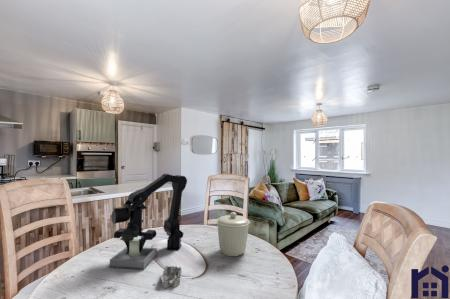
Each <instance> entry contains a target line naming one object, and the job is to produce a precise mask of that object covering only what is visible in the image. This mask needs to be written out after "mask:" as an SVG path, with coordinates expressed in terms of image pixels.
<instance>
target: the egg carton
mask: <svg viewBox="0 0 450 299" xmlns="http://www.w3.org/2000/svg"><path fill="white" fill-rule="evenodd" d="M168 274H169V279H170V280H167V278H168ZM176 274H177V275H176ZM181 275H182V267H181V266H179V267H178V266H177V265H176V266H174V265H173V266H172V265H170V266H168V265H165V266H164V269H163V272H162V274H161V277H160V279H161V282H162V283H161V286H162V287H164V288H169V287H173V288H177V287H178V286H180V285H181V284H180V283H181V277H182V276H181Z"/></svg>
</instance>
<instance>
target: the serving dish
mask: <svg viewBox="0 0 450 299" xmlns="http://www.w3.org/2000/svg"><path fill="white" fill-rule="evenodd" d="M157 250H158V248H156V247H155V248H154V247H143V249H142V251H141V252H140V256H138V257H135V258H131V257H129V252H128V249H127V246H125V247H124V248H123V249H122V250H120V251H119V252H118V253H116V254H115V255H114V256H112V257H111V258H110V259H109V268H110V269H125V270H126V269H128V270H137V271H138V270H139V271H140V270H141V271H145V269H146V268H147V267H148V266H149V265H150V264H151V263H152V261H153V260H154V259H155V258H156V257H157V255H158V254H157V252H158V251H157Z"/></svg>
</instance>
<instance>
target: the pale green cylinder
mask: <svg viewBox="0 0 450 299" xmlns="http://www.w3.org/2000/svg"><path fill="white" fill-rule="evenodd" d="M140 239H141V238H134V239H133V240H132V241H130V242H129V257H131V258H135V257H138V256H140V253H139V246H140V242H139V240H140Z"/></svg>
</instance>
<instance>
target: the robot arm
mask: <svg viewBox="0 0 450 299" xmlns="http://www.w3.org/2000/svg"><path fill="white" fill-rule="evenodd" d="M167 183H171V186H172V191H173V192H172V198H171V205H170V209H169V216H168V218H167V219H165V220H164V221H163V231H164V232H165V233H166V236H168V237H167V240H166V241H167V244H166V245H167V246H166V247H167V248H166V250H167V251H168V250H169V251H179V250H180V249H181V247H182V245H183V244H182V239H183V237H184V234H185V233H184V232H183V231H182V230H181V228H180V225H181V224H180V220H179V216H180V215H179V214H180V209H181V201H182V196H183V191H184V190H185V188H186V186H187V184H188V178H187V177H186V176H185V175H179V174H176V175H172V174H170V173H163V174H161V176H159V177H157V179H155V180H153V181H152V182H151V183H149V184H147V185H146V186H145V187H143V188H141V189H137V190H135V191H133V192H131V193H129V195H128V197H127V198H128V199H127V200H126V201H125V202H124V204H123V205H122V207H114V208H113V209H112V210H113V211H112V212H111V216H110V219H111V222H112V224H115V225H116V224H120V223H124V222H125V223H126V222H127V225H126V228H119V229H117V230H115V232H114V233H113V239H119V240H120V241H123V242H124V244H125V247H127V249H128V252H129V242H130V241H132V240H133V239H135V238H138V237H140V238H139V239H140V240H139V242H140V246H139V253H140V252H141V251H142V249H143V248H144V246H145V244H146V242H147V241H152V240H154V238H156V237H157V231H156V230H155V229H148V230H146V231H144V228H143V222H144V219H143V210H146V209H147V206H146V205H145V204H144V203H145V202H146V201H147V200H148V198H149V197H150V196H151V195H152V194H154V193H155V192H156V191H157V190H159V189H160V188H161V187H163V186H164V185H166V184H167ZM128 220H129V221H128Z"/></svg>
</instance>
